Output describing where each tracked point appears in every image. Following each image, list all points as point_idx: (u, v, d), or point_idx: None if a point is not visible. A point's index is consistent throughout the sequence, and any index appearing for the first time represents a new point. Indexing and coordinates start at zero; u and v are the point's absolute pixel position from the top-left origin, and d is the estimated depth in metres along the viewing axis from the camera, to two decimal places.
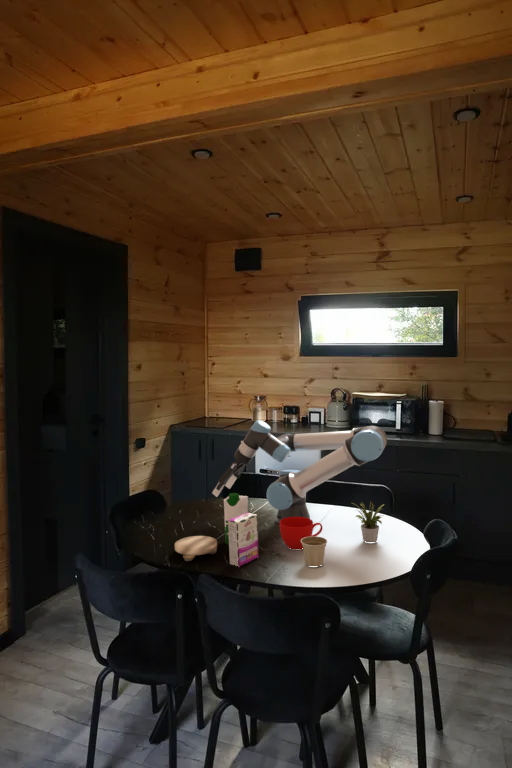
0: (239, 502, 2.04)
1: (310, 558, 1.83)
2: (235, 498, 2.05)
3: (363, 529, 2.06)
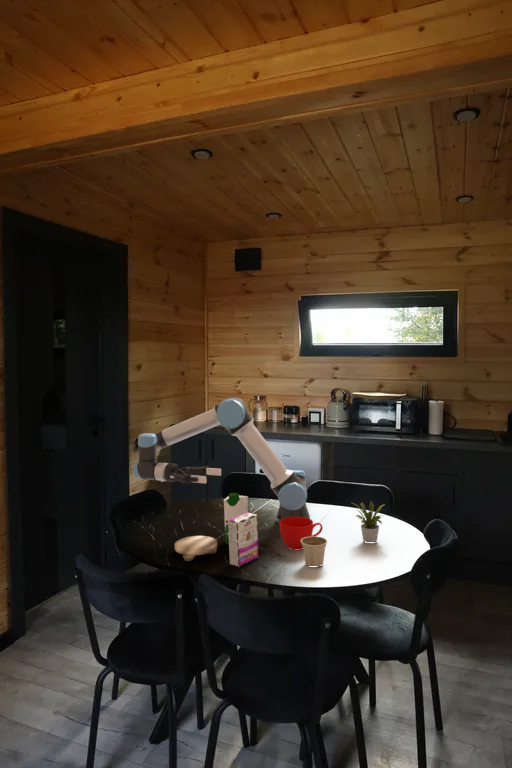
0: (239, 502, 2.04)
1: (310, 558, 1.83)
2: (235, 498, 2.05)
3: (363, 529, 2.06)
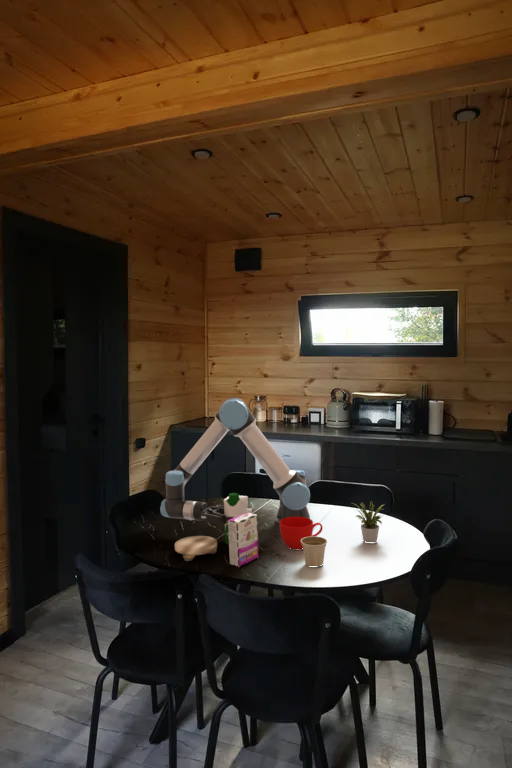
0: (239, 502, 2.04)
1: (310, 558, 1.83)
2: (235, 498, 2.05)
3: (363, 529, 2.06)
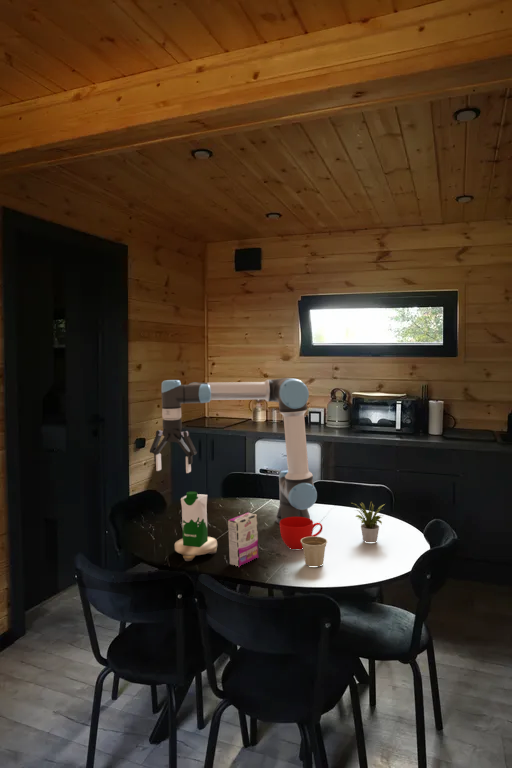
0: (197, 501, 1.93)
1: (310, 558, 1.83)
2: (192, 497, 1.94)
3: (363, 529, 2.06)
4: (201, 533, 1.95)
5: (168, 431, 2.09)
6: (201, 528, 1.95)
